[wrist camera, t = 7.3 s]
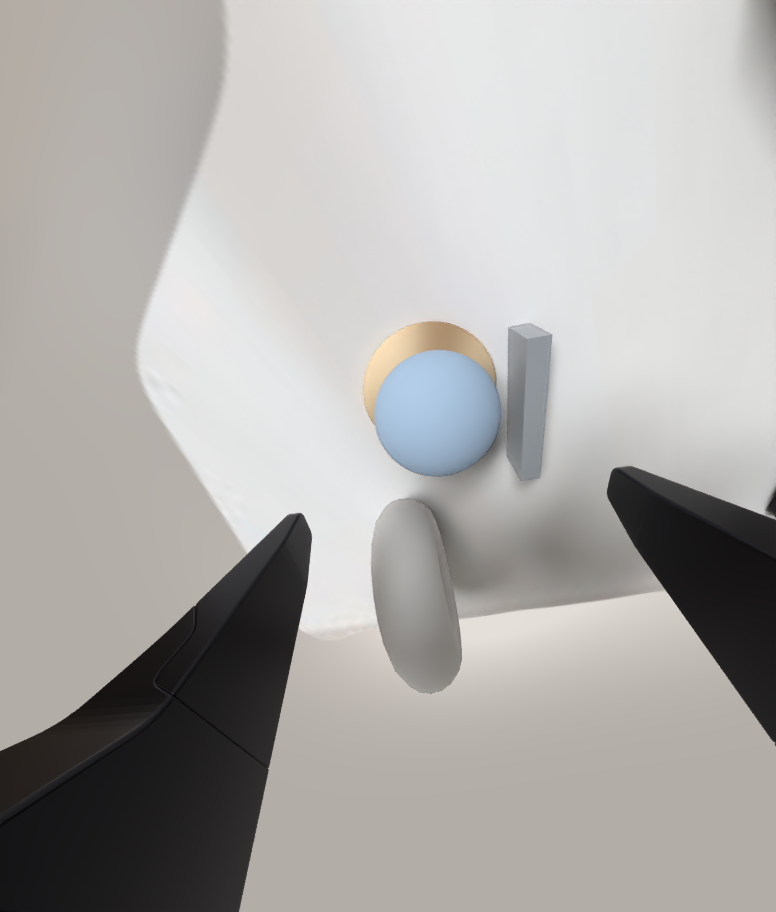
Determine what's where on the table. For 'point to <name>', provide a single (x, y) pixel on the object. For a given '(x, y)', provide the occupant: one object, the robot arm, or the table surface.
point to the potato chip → (416, 342)
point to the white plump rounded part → (415, 597)
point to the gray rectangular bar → (527, 397)
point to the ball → (437, 413)
